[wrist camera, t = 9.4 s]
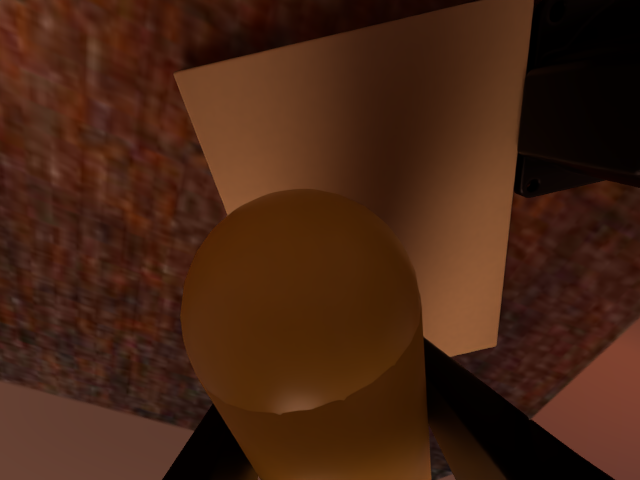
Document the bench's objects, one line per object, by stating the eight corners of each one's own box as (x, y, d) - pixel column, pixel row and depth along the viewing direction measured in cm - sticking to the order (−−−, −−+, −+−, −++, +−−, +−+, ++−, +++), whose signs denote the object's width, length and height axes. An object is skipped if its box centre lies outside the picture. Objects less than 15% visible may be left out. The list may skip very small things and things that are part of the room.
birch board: (521, -6, 9) (537, -14, 8) (489, 338, 15) (496, 346, 15) (179, 74, 9) (171, 72, 8) (295, 382, 15) (295, 392, 15)
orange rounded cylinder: (406, 446, 13) (461, 608, 9) (309, 469, 13) (319, 640, 9) (369, 147, 7) (491, 213, 3) (187, 190, 7) (28, 320, 3)
